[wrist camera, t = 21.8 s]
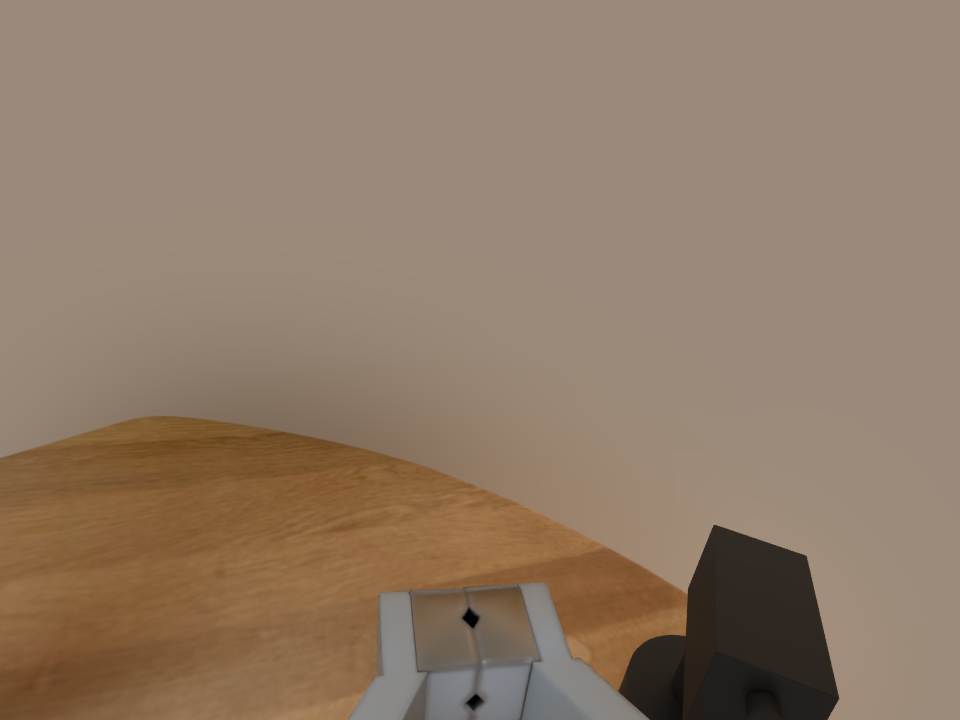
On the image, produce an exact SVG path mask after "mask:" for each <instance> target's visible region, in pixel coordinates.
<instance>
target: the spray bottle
mask: <svg viewBox="0 0 960 720" xmlns="http://www.w3.org/2000/svg"><path fill="white" fill-rule="evenodd" d="M618 692H619V693H620V694H621V695H622V696H624V697H625V698H626V699H627V700H628V701H629V702H630V703H631V704H633V705H634V706H635V707H636V708H637V709H638V710H639V711H640V712H642V713H643V714H644V715H645V716H646V717H647V718H648V719H650V720H827V719H828V718H829V716H830V714H831V712H832V711H833V709H834V707H835V705H836V703H837V702H838V700H839V695H838V691H837V687H836V682H835V678H834V674H833V669H832V666H831V660H830V656H829V652H828V647H827V643H826V639H825V634H824V630H823V626H822V622H821V617H820V612H819V608H818V604H817V599H816V596H815V591H814V586H813V582H812V578H811V573H810V569H809V565H808V560H807V556H805V555H803V554H800V553H796V552H794V551H791V550H788V549H785V548H782V547H779V546H776V545H773V544H770V543H767V542H764V541H761V540H758V539H755V538H752V537H749V536H747V535H743V534H740V533H738V532H735V531H732V530H729V529H726V528H723V527H720V526H717V525H714V526H713V528H712V530H711V533H710V535H709V538H708V541H707V543H706V545H705V548H704V550H703V553H702V555H701V558H700V560H699V563H698V565H697V568H696V571H695V573H694V575H693V578H692V580H691V583H690V585H689V588H688V602H687V625H686V636H680V635H666V636H659V637H655V638H652V639H650V640H648V641H646V642H644V643H643V644H642V645H640V646H639V647H638V648H637V649H636V651H635V652H634V653H633V655H632V658H631V660H630V662H629V665H628V668H627V670H626V673H625V676H624V678H623V681H622V684H621V686H620V689H619V691H618Z"/></svg>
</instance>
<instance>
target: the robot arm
mask: <svg viewBox="0 0 960 720" xmlns="http://www.w3.org/2000/svg"><path fill="white" fill-rule="evenodd" d="M348 720H650V719H648V718H647V717H646V716H645V715H644V714H643V713H642V712H640V711H639V710H638V709H637V708H636V707H635V706H634V705H633V704H631V703H630V702H629V701H628V700H627V699H626V698H625V697H624V696H622V695H621V694H620V693H619V692H618V691H617V690H616V689H615V688H613V687H612V686H611V685H610V684H609V683H608V682H607V681H605V680H604V679H603V678H602V677H601V676H600V675H599V674H598V673H596V672H595V671H594V670H593V669H592V668H591V667H590V666H589V665H587V664H586V663H585V662H584V661H583V660H582V659H581V658H576V659H572V656H571V653H570V650H569V647H568V644H567V641H566V638H565V635H564V632H563V629H562V626H561V623H560V621H559V618H558V615H557V612H556V609H555V606H554V603H553V600H552V597H551V594H550V591H549V588H548V586H547V585H546V584H545V583H544V582H537V583H523V584H517V585H516V584H504V585H491V586H478V587H465V588H462V589H436V590H410V591H409V592H408V591H395V592H380V594H379V607H378V633H377V676H375V677H374V678H373V680H372V682H371V683H370V685H369V687H368V688H367V690H366V691H365V693H364V695H363V696H362V698H361V699H360V701H359V703H358V704H357V706H356V708H355V709H354V711H353V712H352V714H351V716H350V717H349V719H348Z"/></svg>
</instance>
